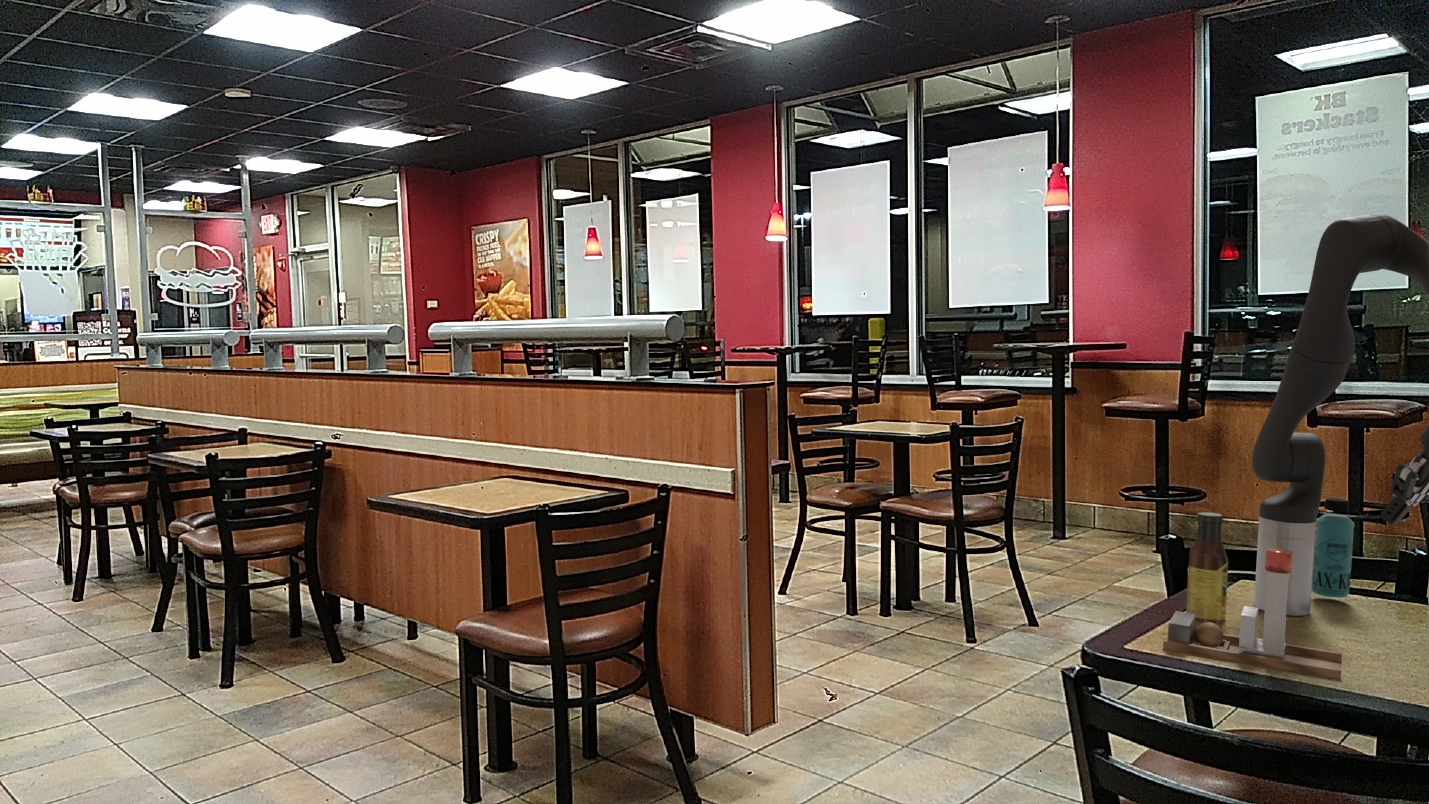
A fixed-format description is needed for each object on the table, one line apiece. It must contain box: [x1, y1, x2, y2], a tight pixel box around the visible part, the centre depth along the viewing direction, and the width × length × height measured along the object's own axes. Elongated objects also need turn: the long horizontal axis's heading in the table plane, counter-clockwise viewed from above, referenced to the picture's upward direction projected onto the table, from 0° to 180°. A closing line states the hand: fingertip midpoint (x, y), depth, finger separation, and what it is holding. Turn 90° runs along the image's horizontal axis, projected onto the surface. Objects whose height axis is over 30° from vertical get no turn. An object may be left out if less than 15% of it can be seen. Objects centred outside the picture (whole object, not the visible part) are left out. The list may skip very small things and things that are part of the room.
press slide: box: [1239, 549, 1293, 660], centre depth 156 cm, size 6×7×16 cm
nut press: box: [1162, 610, 1343, 681], centre depth 158 cm, size 24×10×6 cm, turn 58°
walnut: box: [1196, 622, 1224, 647], centre depth 161 cm, size 4×4×4 cm
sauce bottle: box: [1186, 511, 1229, 624], centre depth 177 cm, size 6×6×20 cm
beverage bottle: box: [1312, 497, 1356, 598], centre depth 194 cm, size 6×7×20 cm
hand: (1387, 520), depth 152 cm, fingers closed
